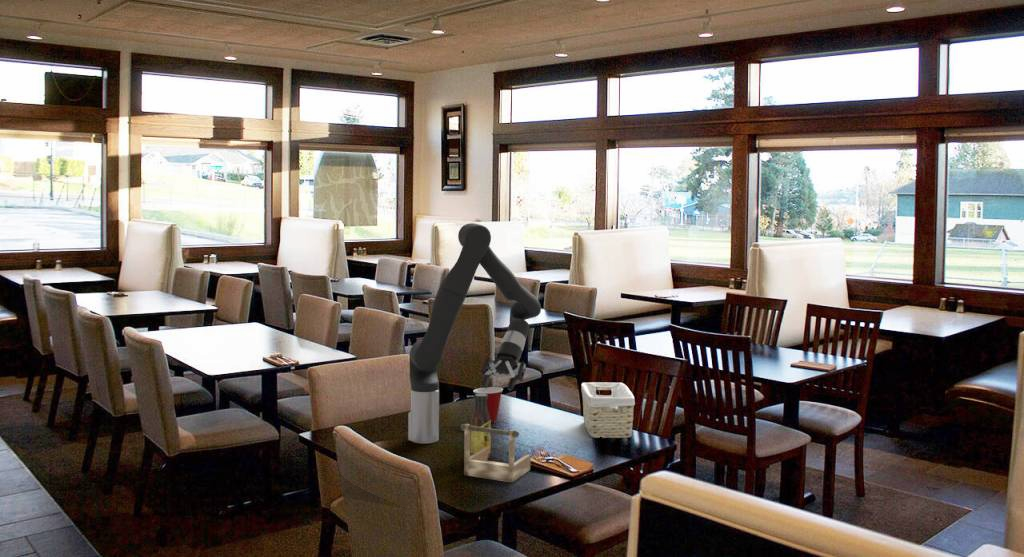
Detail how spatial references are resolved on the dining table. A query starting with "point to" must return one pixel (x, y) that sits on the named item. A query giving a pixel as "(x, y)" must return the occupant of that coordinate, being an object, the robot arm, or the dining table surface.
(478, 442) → the sauce bottle
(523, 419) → the dining table surface
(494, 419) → the plastic cup
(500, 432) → the wooden table caddy
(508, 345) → the robot arm
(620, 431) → the storage basket
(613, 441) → the dining table surface
